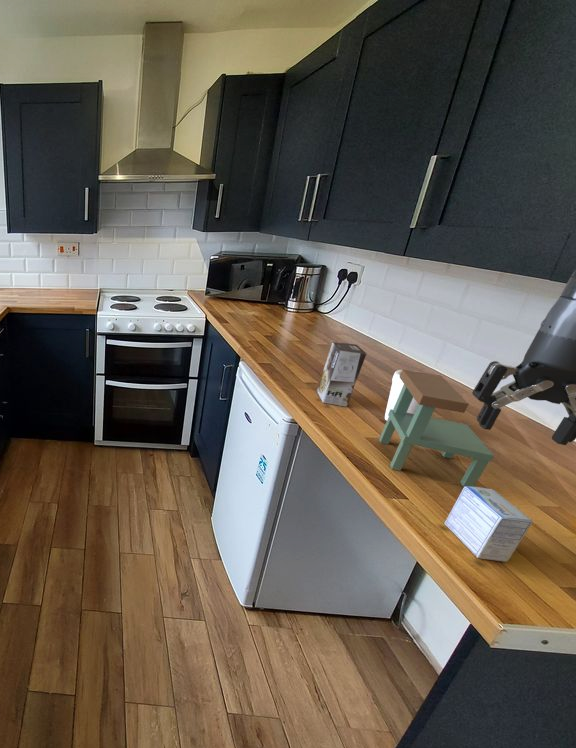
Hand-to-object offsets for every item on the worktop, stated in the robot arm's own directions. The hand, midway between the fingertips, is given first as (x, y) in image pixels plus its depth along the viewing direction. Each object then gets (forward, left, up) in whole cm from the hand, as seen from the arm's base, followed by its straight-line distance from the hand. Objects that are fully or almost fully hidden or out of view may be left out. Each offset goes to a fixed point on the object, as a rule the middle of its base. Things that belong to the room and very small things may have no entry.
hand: (520, 434), depth 62 cm
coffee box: (+15, -52, -20) cm, 57 cm away
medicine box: (-1, +2, -20) cm, 20 cm away
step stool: (0, -24, -20) cm, 31 cm away
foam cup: (0, -45, -20) cm, 49 cm away
